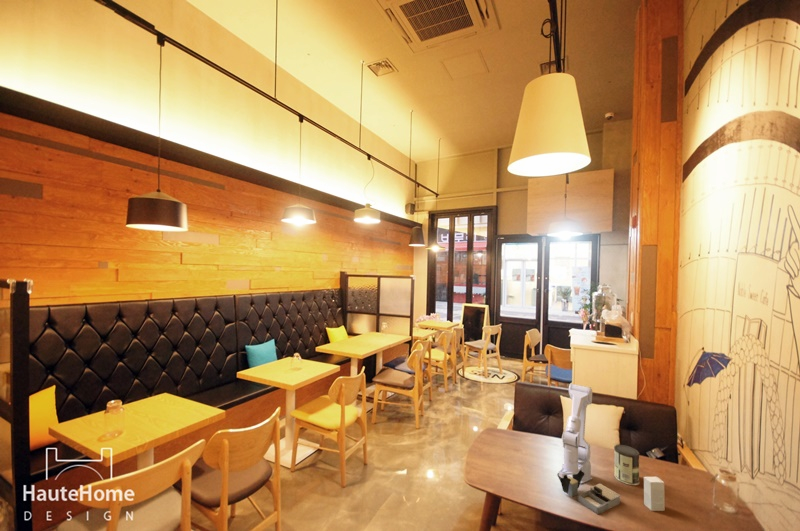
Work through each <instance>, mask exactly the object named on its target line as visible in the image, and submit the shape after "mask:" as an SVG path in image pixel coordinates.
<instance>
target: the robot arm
mask: <svg viewBox="0 0 800 531" xmlns="http://www.w3.org/2000/svg"><path fill="white" fill-rule="evenodd" d="M568 395H569V398H570V399H571V413H570V415H569V416H567V421H566V427H565V431H563V433H562V445H563V446H562V448H563V464H562V465H561V467H562V468H561V469H560V470H559V471H558V472H557V477H558V479H559V482H560V484H561V488H562V489H561V490H562V491H563V492H564V493H565V492H566V494H567V493H568V490H569V483H570V481H571V479H569V478H568V477H569V476H570V477H572V478H574V479H575V480H577V481H578V489H579V488H580V485H581V484H584V483H586V482H589V481H591V480H593V476H592V463H591V462H590V460H591V445H590V444H589V442H588V441H587V440H585V433H586V431H585V430H586V419H587V418H586V417H587V408H588V406H589V405H592V402H593V389H592V387H589V386H583V385H578V384H574V383H569V386H568Z"/></svg>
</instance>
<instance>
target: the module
mask: <svg viewBox="0 0 800 531" xmlns="http://www.w3.org/2000/svg"><path fill="white" fill-rule="evenodd" d="M567 477H568V476H567ZM568 478H569V479H571V481H570V483H569V490H568V493H566V492H564V493H566V494H567V495H568V496H570V497H571V498H573V497H575V496H578V495H579V488H578V481H577V480H575V479H574V478H572V477H570V476H569V477H568Z"/></svg>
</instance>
